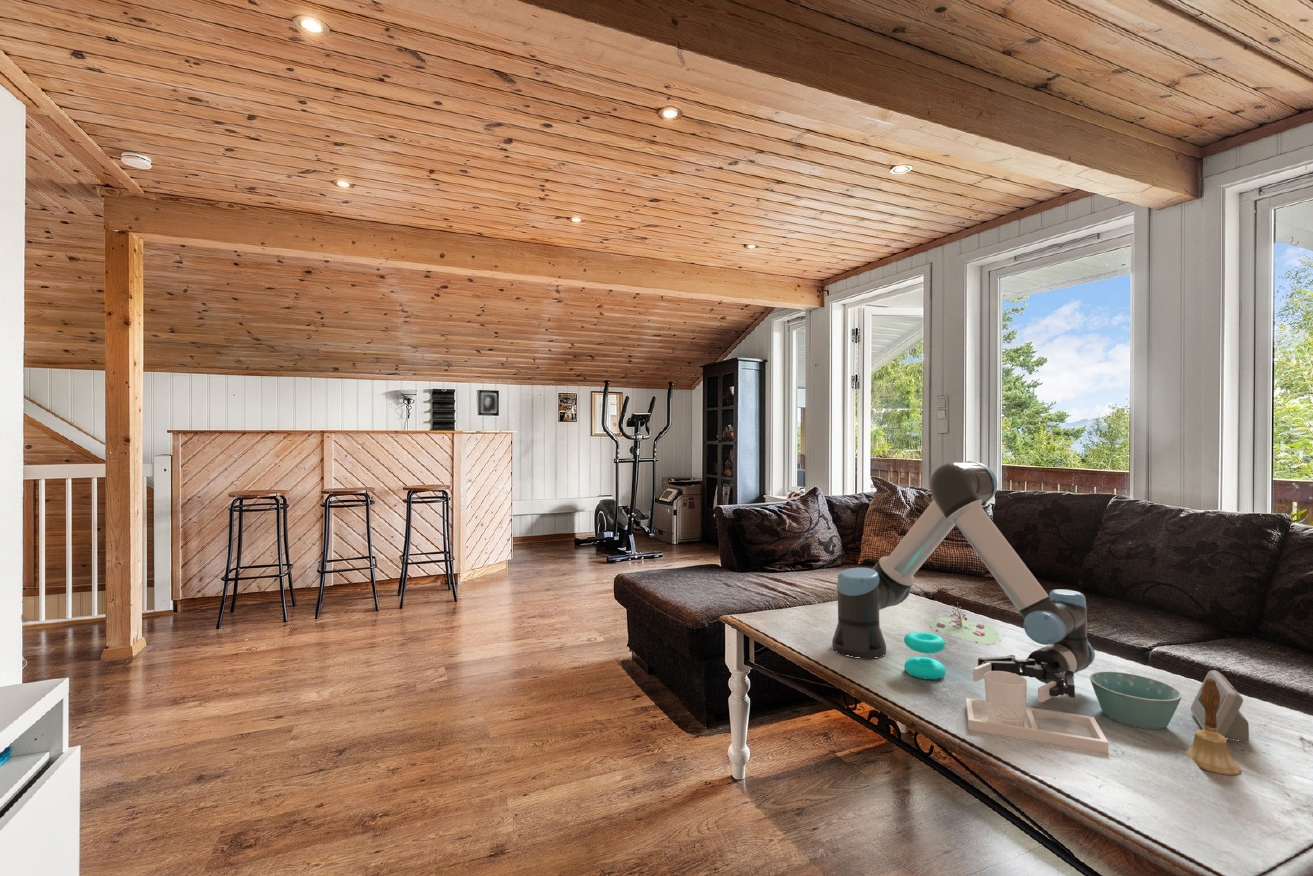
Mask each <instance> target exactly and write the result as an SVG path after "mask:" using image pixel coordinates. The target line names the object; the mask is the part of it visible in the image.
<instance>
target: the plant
mask: <svg viewBox="0 0 1313 876" xmlns="http://www.w3.org/2000/svg"><path fill="white" fill-rule="evenodd" d="M956 604H957V605H956V606H955V604H952V605H950V607H952V609H953V610H951V612H952V613H953V614H951V615H950V617H951V618H950V617H944V616H942V617H936V618H935V619H933V620H932V621H931V622H930V623H929V628H931V627H934V628H935V629H937V630H938V631H940V632H949V633H951V634H952V636H951V637H953V636H960V637H961V638H962V639H961V640H963V641H968V642H971V641H979V642H980V643H981V644H980V645H982V644H983V645H984V646H987V645H988V646H991V645H993V644H994V645H995V644H996V643H995V642H996V641H1000V642H1001V639H1002V638H1001V639H1000V638H999V637H997V636H1000V635H999V633H998V632H997V631H996V629H995V628H993V627H991V626H989V625H987V624H985V623H984V622H977V621H972V620H971V621H970V620H968V618H967V614H968V613H967V612H966V611H964V610H963V611H962V610H961V609H962V606H961V605H959V606H958V604H959V602H956ZM955 607H956V608H955ZM959 609H960V610H959ZM954 610H955V611H954ZM952 617H957V618H952ZM940 632H939V633H940ZM990 644H991V645H990ZM983 645H982V646H983Z"/></svg>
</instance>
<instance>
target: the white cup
mask: <svg viewBox="0 0 1313 876" xmlns="http://www.w3.org/2000/svg"><path fill="white" fill-rule="evenodd" d="M983 680H984V690H985V693H984V694H985V701H986V706H987V713H988V721H991V722H997V723H1003V724H1009V725H1015V726H1022V727H1025V714H1026V707H1027V692H1028V691H1027V686H1028V685H1027V684H1028V680H1027V679H1026V678H1025V677H1024V676H1020V675H1017V674H1014V673H1010V672H1004V671H989V672H986V673H985V674H984V678H983Z"/></svg>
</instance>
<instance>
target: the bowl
mask: <svg viewBox="0 0 1313 876" xmlns="http://www.w3.org/2000/svg"><path fill="white" fill-rule="evenodd" d="M1089 679H1090V683H1091V685H1092V688H1093V691H1094V694H1095V697H1096V698H1097V701H1098V703H1099V706H1100V709H1101V710H1102V713H1103V714H1104V715H1105V716H1107V717H1108V718H1109V719H1111V720H1112V721H1115V722H1117V723H1120V724H1123V725H1126V726H1128V727H1129V726H1130V727H1133V728H1138V729H1145V730H1161V729H1165V728H1167V727H1168V726H1169V724H1170V722H1171V720H1172V719H1173V716H1174V715H1175V713H1176V711H1177V708H1178V706H1179V704H1180V701H1181V699H1182V696H1183V695H1182V693H1181V691H1180V690H1178V689H1177V688H1175V687H1174V686H1172V685H1170V684H1168V683H1165V682H1162V681H1160V680H1157V679H1153V678H1152V677H1150V678H1149V677H1146V676H1142V675H1137V674H1133V673H1127V672H1119V671H1096V672H1093V673H1091V674H1090V676H1089Z"/></svg>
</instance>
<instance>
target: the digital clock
mask: <svg viewBox="0 0 1313 876" xmlns="http://www.w3.org/2000/svg"><path fill="white" fill-rule="evenodd" d="M1206 679H1213V680H1215V682H1216V685H1217V688H1218V690H1219V694H1220V704H1219V708H1218V710H1217V713H1216V721H1217V733H1219V734H1220V735H1222V736H1224V737H1225V738H1228V739H1232V740H1231V741H1233V739H1234V740H1239V741H1243V742H1242V743H1244V742H1249V743H1250V732H1249V731H1250V729H1249V728H1250V727H1249V726H1250V725H1249V722H1248V720H1247V719H1246V717H1245V716H1244V715H1243V714H1242V713H1241V711H1240V709H1241V706H1243V703H1244V698H1243V696H1241V694H1240V693H1239V692H1238V691H1237V689H1235V686H1234V685H1232V684H1231V682H1230V681H1229V680H1228V679H1227V678H1226V676H1224V675H1223V673H1221V672H1219V671H1218V670H1215V669H1214V670H1208V672H1207V674H1206V675H1205V677H1204V680H1203V682H1202V683H1201V685H1200V688H1199V689H1198V691H1197V693H1196V696H1195V698H1194V700H1193V701H1192V704H1191V706H1190V711H1191V713H1192V715H1193V717H1194V719H1196V721H1197V723H1198V724H1199V726H1200V727H1201V730H1203V729H1205V708H1204V705H1203V702H1202V688H1203V686H1204V684H1205V682H1206ZM1228 739H1227V740H1228ZM1239 741H1238V742H1239Z"/></svg>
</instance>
